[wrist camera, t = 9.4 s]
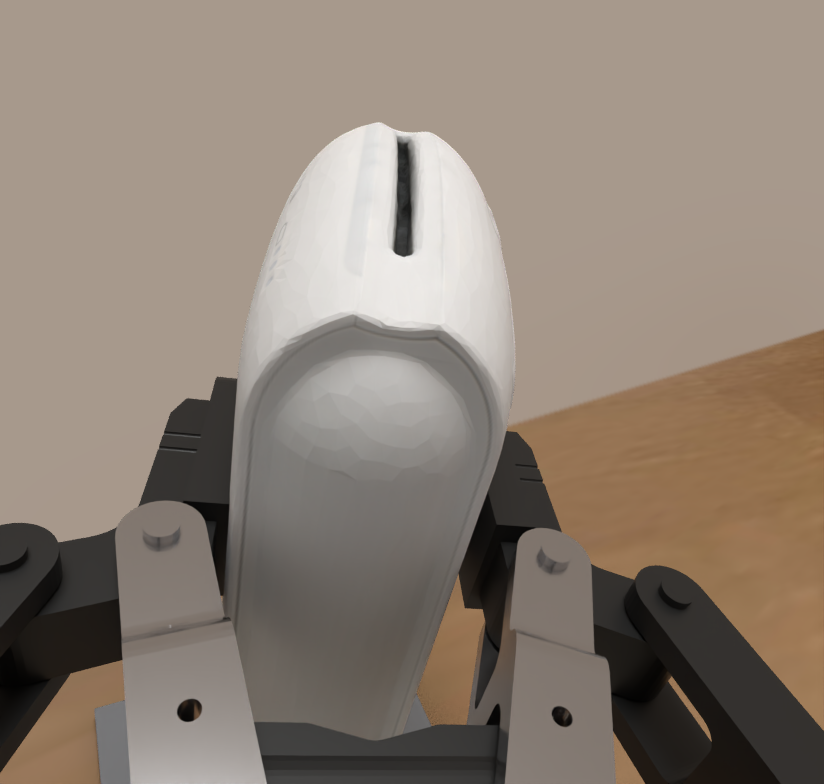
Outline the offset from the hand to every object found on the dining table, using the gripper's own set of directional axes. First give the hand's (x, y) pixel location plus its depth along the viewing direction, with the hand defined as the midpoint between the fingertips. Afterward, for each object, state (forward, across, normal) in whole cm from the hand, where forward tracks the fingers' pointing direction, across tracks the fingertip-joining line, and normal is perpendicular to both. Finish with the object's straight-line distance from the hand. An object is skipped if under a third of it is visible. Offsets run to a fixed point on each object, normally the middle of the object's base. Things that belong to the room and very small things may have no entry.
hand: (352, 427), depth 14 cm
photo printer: (0, 0, +7) cm, 7 cm away
